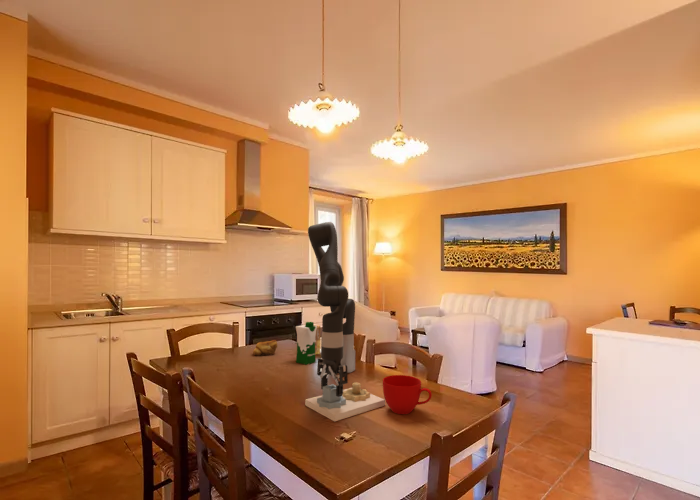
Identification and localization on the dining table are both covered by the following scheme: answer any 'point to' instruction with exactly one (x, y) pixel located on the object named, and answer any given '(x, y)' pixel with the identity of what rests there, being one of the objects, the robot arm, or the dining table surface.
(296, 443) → the dining table surface
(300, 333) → the milk carton
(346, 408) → the carrier plate
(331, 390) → the planet gear
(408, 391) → the ceramic cup
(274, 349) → the bread roll
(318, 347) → the candy box
